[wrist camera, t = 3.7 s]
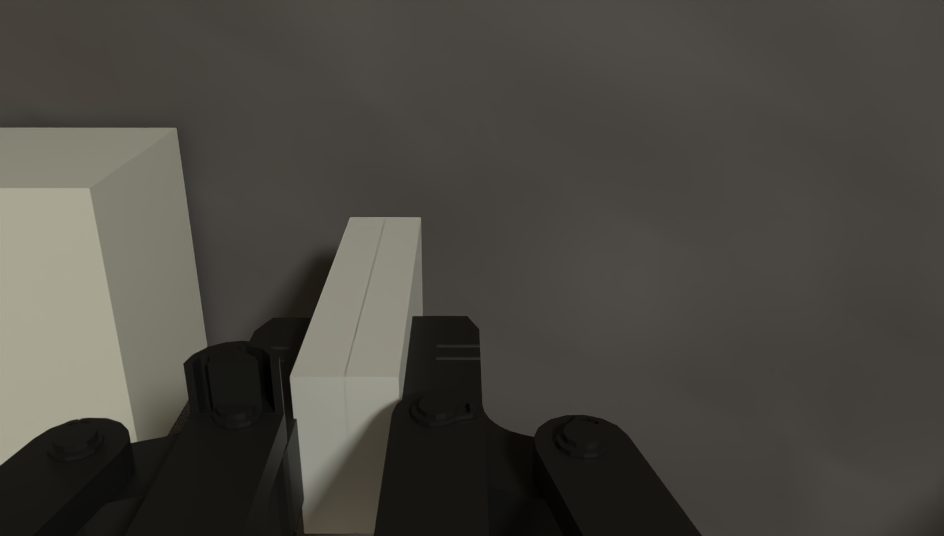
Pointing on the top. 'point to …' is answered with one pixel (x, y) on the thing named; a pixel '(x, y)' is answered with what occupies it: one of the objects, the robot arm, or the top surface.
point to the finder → (94, 281)
